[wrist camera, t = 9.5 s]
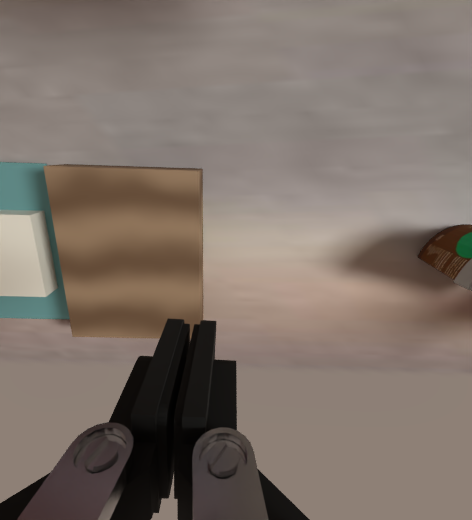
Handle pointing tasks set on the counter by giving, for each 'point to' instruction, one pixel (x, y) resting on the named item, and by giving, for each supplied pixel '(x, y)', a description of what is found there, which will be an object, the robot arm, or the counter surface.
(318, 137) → the counter surface
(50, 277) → the cream rectangular block
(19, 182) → the mat
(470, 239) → the food container
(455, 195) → the counter surface
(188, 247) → the wooden box
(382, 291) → the counter surface
